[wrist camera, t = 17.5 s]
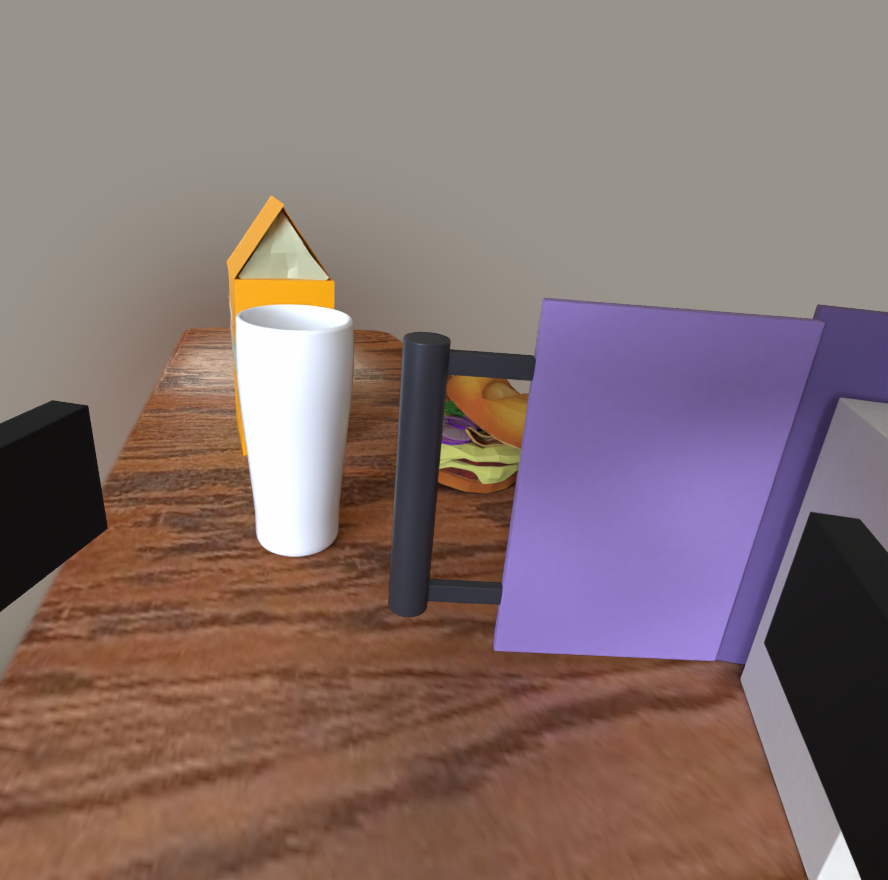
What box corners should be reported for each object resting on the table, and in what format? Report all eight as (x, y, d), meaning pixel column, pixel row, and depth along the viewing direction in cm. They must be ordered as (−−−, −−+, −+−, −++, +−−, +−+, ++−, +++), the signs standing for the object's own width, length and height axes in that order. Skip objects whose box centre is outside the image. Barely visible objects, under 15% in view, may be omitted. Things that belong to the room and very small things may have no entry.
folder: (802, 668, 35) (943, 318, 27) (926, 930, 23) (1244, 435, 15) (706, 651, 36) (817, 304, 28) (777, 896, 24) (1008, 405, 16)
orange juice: (316, 412, 63) (316, 198, 55) (334, 449, 56) (337, 207, 48) (234, 416, 61) (221, 192, 52) (240, 456, 53) (227, 201, 45)
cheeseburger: (403, 440, 58) (438, 339, 55) (512, 473, 60) (553, 377, 56) (398, 491, 49) (439, 373, 45) (527, 529, 50) (577, 417, 47)
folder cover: (720, 671, 34) (835, 326, 26) (384, 655, 33) (405, 293, 25) (705, 644, 35) (809, 315, 28) (387, 629, 34) (406, 283, 27)
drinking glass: (236, 567, 39) (221, 327, 33) (254, 511, 45) (245, 300, 39) (347, 568, 40) (353, 334, 34) (350, 513, 46) (356, 307, 40)
